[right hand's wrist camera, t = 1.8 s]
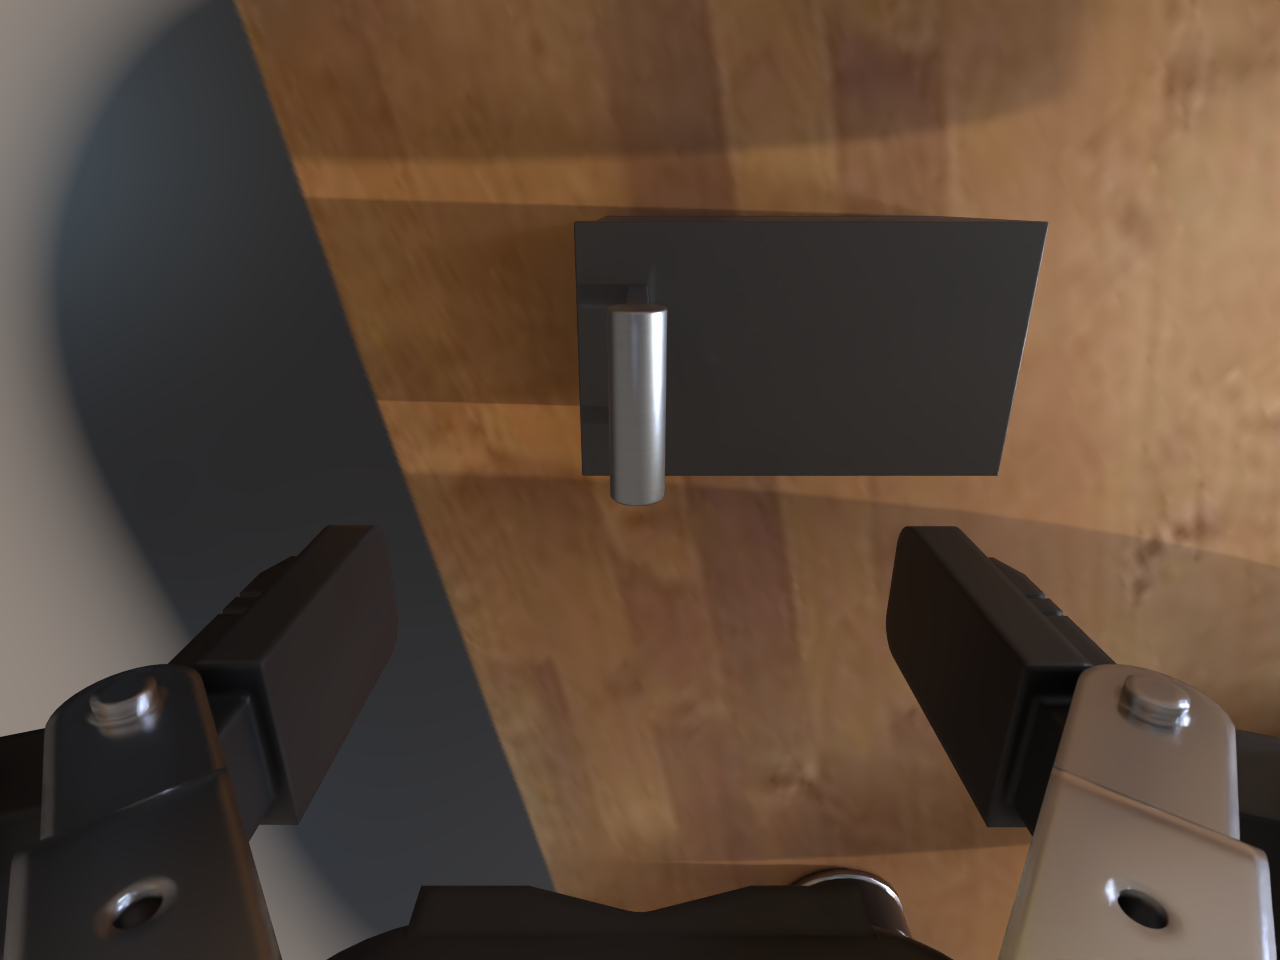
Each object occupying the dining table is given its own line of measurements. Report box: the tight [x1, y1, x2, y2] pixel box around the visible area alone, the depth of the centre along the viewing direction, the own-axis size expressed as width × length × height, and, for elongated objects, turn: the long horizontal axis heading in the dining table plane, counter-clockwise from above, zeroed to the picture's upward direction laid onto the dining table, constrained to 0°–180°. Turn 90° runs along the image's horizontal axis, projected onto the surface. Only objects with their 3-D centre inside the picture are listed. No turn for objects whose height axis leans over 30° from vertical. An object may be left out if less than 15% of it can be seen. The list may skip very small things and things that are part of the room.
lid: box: [574, 221, 1049, 506], centre depth 23 cm, size 17×10×8 cm, turn 90°
